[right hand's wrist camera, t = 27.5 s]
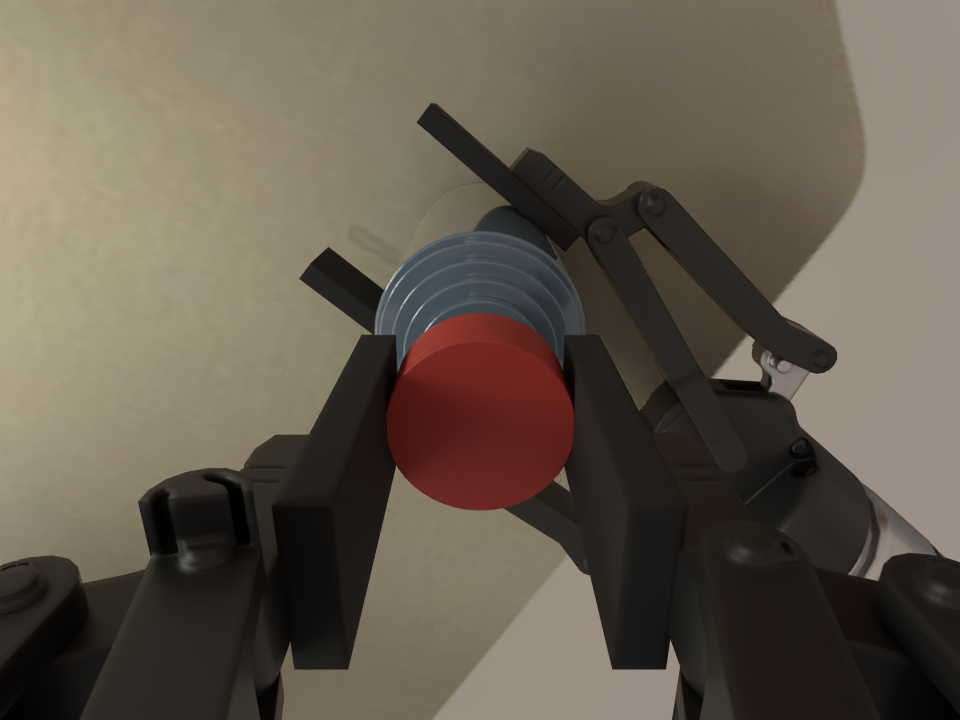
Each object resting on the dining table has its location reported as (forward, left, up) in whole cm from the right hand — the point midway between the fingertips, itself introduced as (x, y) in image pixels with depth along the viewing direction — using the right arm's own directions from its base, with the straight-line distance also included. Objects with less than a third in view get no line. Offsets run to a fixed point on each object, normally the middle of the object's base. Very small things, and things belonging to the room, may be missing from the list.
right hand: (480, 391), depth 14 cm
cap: (0, 0, +2) cm, 2 cm away
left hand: (-2, +5, -10) cm, 11 cm away
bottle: (0, 0, -16) cm, 16 cm away
